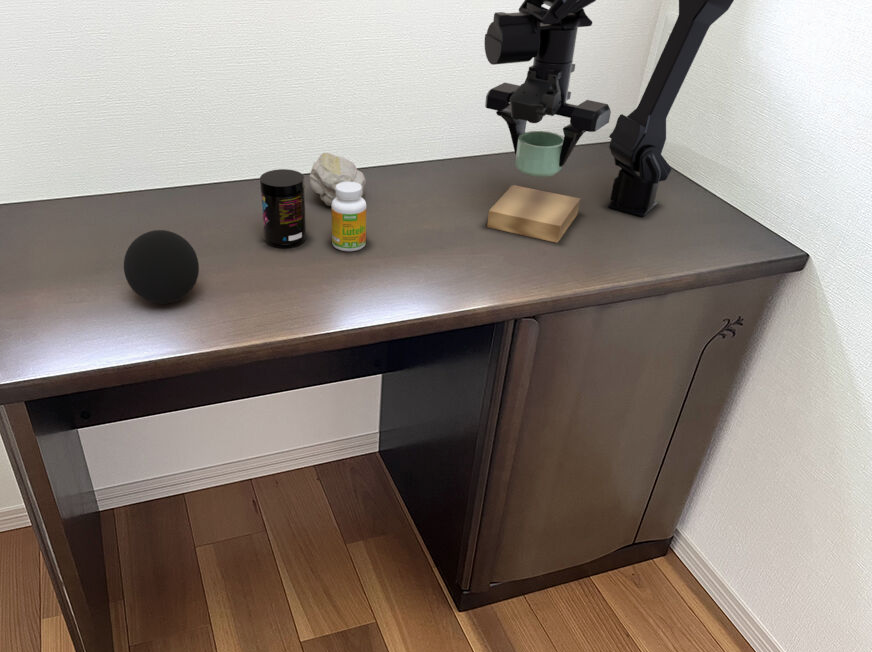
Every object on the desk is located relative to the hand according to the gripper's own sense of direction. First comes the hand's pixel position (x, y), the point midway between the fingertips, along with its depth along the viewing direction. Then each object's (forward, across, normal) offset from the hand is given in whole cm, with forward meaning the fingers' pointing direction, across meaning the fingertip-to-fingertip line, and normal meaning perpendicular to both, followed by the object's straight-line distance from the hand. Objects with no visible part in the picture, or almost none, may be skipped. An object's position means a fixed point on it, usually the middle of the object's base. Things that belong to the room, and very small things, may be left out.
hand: (539, 160), depth 128 cm
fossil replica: (+10, -31, -14) cm, 35 cm away
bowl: (+2, 0, 0) cm, 2 cm away
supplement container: (+10, -28, -31) cm, 43 cm away
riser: (+10, 0, 0) cm, 11 cm away
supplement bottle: (+10, -19, -26) cm, 34 cm away
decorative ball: (+10, -28, -55) cm, 63 cm away
